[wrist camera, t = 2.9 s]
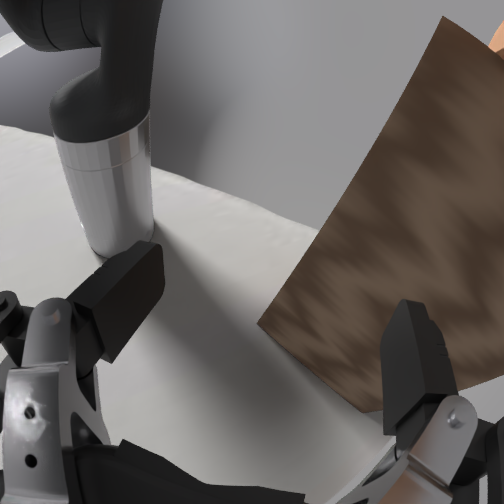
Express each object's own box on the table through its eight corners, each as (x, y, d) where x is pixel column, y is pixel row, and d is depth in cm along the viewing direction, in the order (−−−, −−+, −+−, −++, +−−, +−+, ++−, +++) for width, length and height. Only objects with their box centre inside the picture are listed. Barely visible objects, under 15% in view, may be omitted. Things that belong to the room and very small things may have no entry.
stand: (256, 323, 32) (451, -5, 5) (313, 262, 39) (460, 29, 11) (362, 413, 28) (651, 273, 1) (402, 341, 35) (600, 183, 8)
